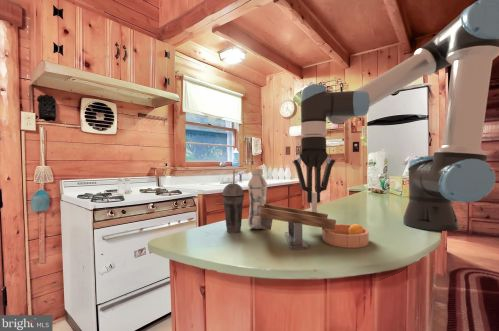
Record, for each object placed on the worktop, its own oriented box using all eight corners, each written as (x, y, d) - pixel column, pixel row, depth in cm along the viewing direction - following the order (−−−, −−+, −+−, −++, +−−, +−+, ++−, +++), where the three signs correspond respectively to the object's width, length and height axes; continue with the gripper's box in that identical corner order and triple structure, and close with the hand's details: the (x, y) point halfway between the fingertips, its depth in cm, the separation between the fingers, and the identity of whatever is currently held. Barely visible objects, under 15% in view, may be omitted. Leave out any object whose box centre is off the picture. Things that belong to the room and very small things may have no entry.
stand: (297, 234, 77) (297, 213, 77) (307, 249, 64) (306, 223, 64) (284, 234, 78) (284, 213, 77) (291, 249, 65) (291, 224, 64)
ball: (359, 237, 73) (361, 223, 73) (365, 241, 69) (367, 227, 69) (345, 235, 73) (347, 221, 73) (350, 239, 69) (353, 224, 69)
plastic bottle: (244, 228, 85) (243, 169, 85) (258, 225, 90) (257, 168, 89) (257, 232, 80) (256, 169, 80) (271, 228, 85) (271, 168, 85)
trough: (317, 226, 82) (320, 208, 82) (332, 240, 67) (336, 218, 67) (256, 216, 82) (259, 197, 82) (257, 228, 67) (261, 206, 67)
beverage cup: (219, 232, 81) (217, 170, 80) (227, 227, 88) (226, 169, 87) (240, 234, 79) (239, 170, 78) (247, 228, 86) (246, 169, 85)
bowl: (357, 234, 77) (357, 223, 77) (377, 247, 65) (376, 235, 65) (317, 234, 77) (317, 224, 77) (330, 248, 65) (329, 235, 65)
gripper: (330, 138, 82) (330, 210, 82) (290, 138, 82) (290, 210, 82) (338, 135, 74) (338, 215, 75) (294, 135, 74) (294, 215, 75)
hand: (313, 213), depth 78 cm, fingers closed
